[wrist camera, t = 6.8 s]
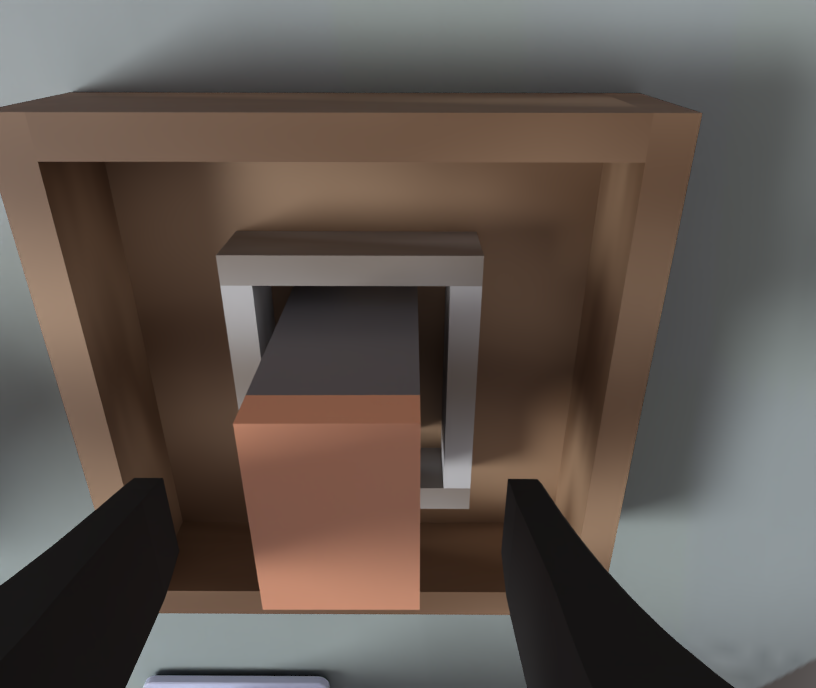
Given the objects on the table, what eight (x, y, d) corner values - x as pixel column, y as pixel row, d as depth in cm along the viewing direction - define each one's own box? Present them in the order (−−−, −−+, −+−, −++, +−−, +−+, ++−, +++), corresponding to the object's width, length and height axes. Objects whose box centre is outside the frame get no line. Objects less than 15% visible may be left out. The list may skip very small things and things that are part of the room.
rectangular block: (417, 428, 20) (419, 609, 14) (308, 428, 20) (262, 609, 14) (417, 283, 18) (420, 423, 12) (294, 283, 18) (232, 423, 12)
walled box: (570, 524, 23) (599, 615, 20) (169, 523, 23) (126, 612, 20) (639, 93, 16) (702, 113, 13) (70, 92, 17) (-24, 112, 13)
